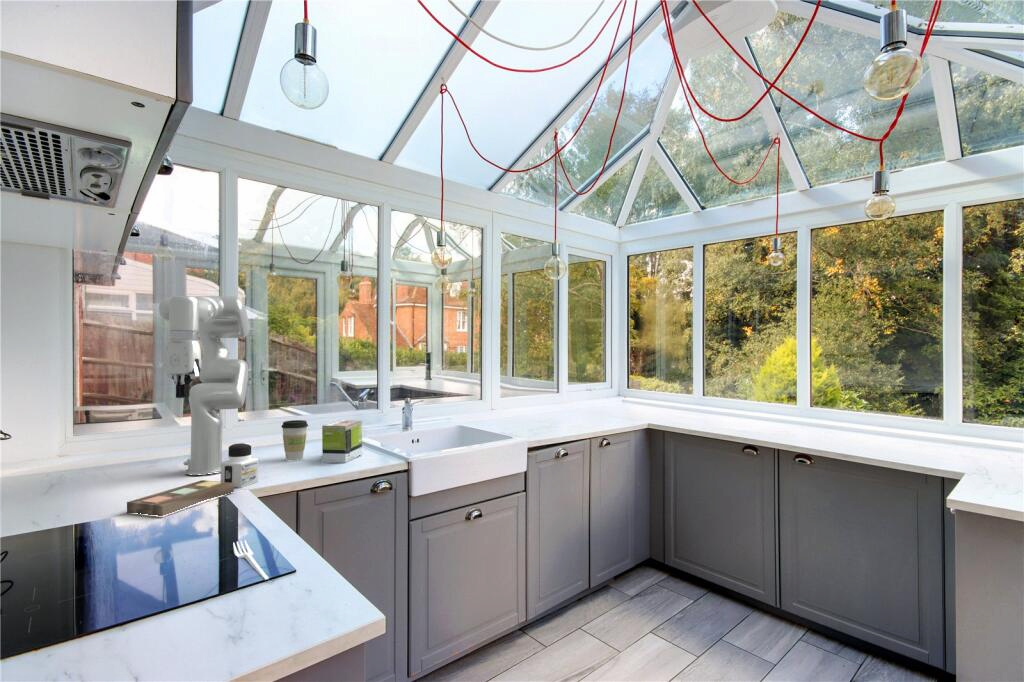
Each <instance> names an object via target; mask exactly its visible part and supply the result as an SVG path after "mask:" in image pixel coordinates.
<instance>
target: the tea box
mask: <svg viewBox="0 0 1024 682" xmlns="http://www.w3.org/2000/svg"><path fill="white" fill-rule="evenodd" d="M362 422H363V421H362V420H361V419H359V420H358V419H339V420H337V421H332V422H329V423H326V424H323V425H322V427H321V428H322V429H321V430H322V431H321V433H322V440H321V442H322V445H321V446H322V448H321V449H322V450H321V451H322V454H321V455H322V456H321V457H322V463H327V462H336V463H335V464H345V463H348V462H350V461H353V460H354V459H356V458H358V457H360V456H362V455H363V423H362ZM361 454H362V455H361ZM359 455H360V456H359ZM357 456H358V457H357ZM337 462H338V463H337Z"/></svg>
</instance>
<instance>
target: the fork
mask: <svg viewBox="0 0 1024 682" xmlns="http://www.w3.org/2000/svg"><path fill="white" fill-rule="evenodd" d="M243 541H244V543H243ZM243 541H242V540H240V541H239V542H240V544H239V542H238V541H236V543H235V542H233V544H232V545H233V554H234V556H236V557H237V558H238V559H239V558H240V559H243V558H244V559H245V560H246V561H247V562H248V563H249V565H250V566H251V567H252V568H253V569H254V570H255V571H256V572H257V573H258V574H259V575H260V576H261V577H262V578H263V579H264V581H266V580H269V579H270V578H269V576H268V575H267V574H266V572H264V569H262V568H261V566H260V564H258V563H257V561H256V560H255V558H254V557H253V555H254V552H253V551H252V549H251V548H250V546H249V544H248V543H247V540H246V539H243ZM244 544H245V547H244Z"/></svg>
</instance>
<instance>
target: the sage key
mask: <svg viewBox="0 0 1024 682" xmlns="http://www.w3.org/2000/svg"><path fill="white" fill-rule="evenodd" d="M195 491H198V489H190V488H184V489H180V490H177V491H174V492H170V494H175V495H186V494H189V493H192V492H195Z"/></svg>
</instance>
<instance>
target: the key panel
mask: <svg viewBox="0 0 1024 682" xmlns="http://www.w3.org/2000/svg"><path fill="white" fill-rule="evenodd" d="M207 481H208V480H205V479H204V480H203V479H202V480H198V481H193V482H191V483H187V484H185V485H181V486H178V487H173V488H171V489H168V490H167V489H166V490H164V491H160V492H158V493H157V492H156V493H154V494H151V495H146V496H142V497H139V498H137V499H133V500H129V501H127V502H126V514H127V513H138V514H140V513H141V514H148V515H158V516H163V515H166V514H169V513H172V512H175V511H177V510H180V509H183V508H185V507H188V506H190V505H193V504H196V503H198V502H201V501H204V500H207V499H211V498H214V497H218V496H221V495H225V494H228V493H231V492H234V491H235V490H234V488H235V487H234V483H229V482H221V481H220V482H221V484H218V485H214V486H211V487H208V488H207V487H196V486H195V485H197V484H200V483H204V482H207ZM212 481H213V482H218V481H214V480H212ZM184 488H190V489H198V491H195V492H192V493H189V494H186V495H175V494H170V492H174V491H177V490H180V489H184ZM234 493H235V492H234ZM157 496H165V497H173V499H170V500H167V501H163V502H160V503H157V504H151V503H142V501H143V500H147V499H150V498H153V497H157Z"/></svg>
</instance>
